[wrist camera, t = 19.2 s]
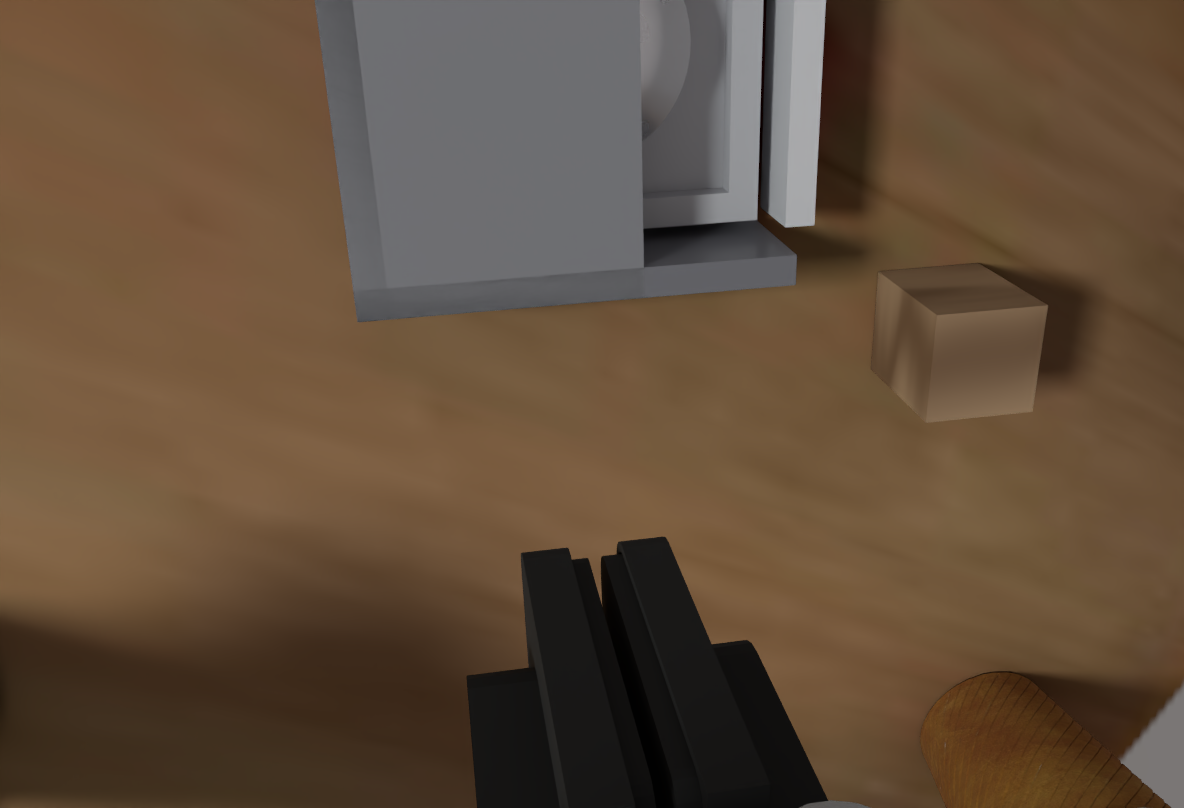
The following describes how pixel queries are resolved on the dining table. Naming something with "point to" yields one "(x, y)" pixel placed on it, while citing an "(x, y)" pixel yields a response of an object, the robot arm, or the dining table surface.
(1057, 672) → the dining table surface
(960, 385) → the walnut block
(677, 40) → the silver disc
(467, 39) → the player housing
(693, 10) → the tray
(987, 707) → the disposable coffee cup
